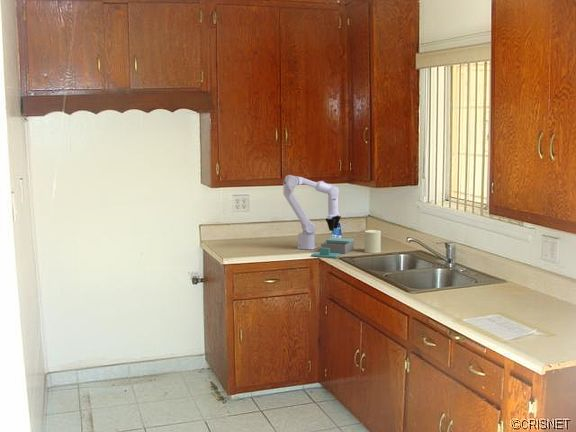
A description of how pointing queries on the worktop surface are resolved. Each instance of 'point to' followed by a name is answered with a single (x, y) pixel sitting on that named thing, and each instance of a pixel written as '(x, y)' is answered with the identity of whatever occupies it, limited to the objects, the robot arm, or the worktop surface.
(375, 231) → the can
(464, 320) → the worktop surface
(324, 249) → the lid
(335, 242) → the tub
